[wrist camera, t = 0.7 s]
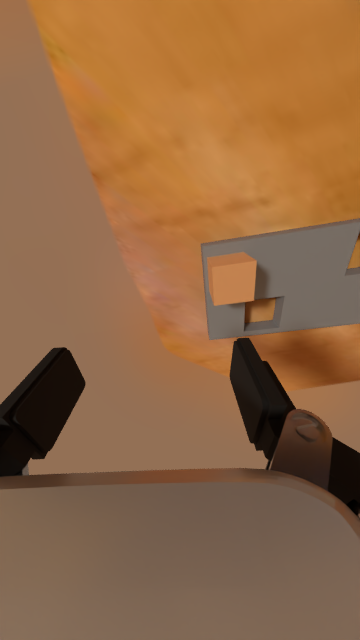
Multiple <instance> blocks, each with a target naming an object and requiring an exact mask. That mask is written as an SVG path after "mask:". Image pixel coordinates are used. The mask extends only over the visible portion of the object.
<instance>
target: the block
mask: <svg viewBox="0 0 360 640" xmlns="http://www.w3.org/2000/svg"><path fill="white" fill-rule="evenodd" d="M256 265H257V261H256V260H255V259H253V258H252V257H250V256H249V255H248V254H246V253H245V252H240V253H234V254H227V255H220V256H214V257H207V266H208V280H209V292H210V295H211V298H212V301H213V304H214V306H217V305H225V304H233V303H240V302H248V301H254V292H255V278H256Z"/></svg>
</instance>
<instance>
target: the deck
mask: <svg viewBox="0 0 360 640" xmlns="http://www.w3.org/2000/svg"><path fill="white" fill-rule="evenodd" d="M359 232H360V218H359V219H353V220H347V221H340V222H334V223H328V224H322V225H315V226H309V227H303V228H297V229H290V230H284V231H278V232H272V233H265V234H259V235H253V236H246V237H240V238H234V239H228V240H221V241H215V242H209V243H203V244H201V252H202V264H203V276H204V288H205V300H206V312H207V324H208V334H209V338H210V340H214V339H223V338H232V337H241V336H250V335H259V334H268V333H277V332H286V331H295V330H305V329H314V328H323V327H332V326H341V325H350V324H359V323H360V267H358V268H350V269H347V267H348V264H349V261H350V258H351V255H352V252H353V249H354V247H355V244H356V241H357V238H358V235H359ZM240 252H245V253H246V254H248V255H249V256H250V257H252V258H253V259H255V260H256V261H257V265H256V278H255V292H254V300H257V299H264V298H272V297H276V303H275V310H274V317H273V320H269V321H261V322H252V323H244V316H245V302H240V303H233V304H225V305H217V306H214V304H213V301H212V298H211V295H210V292H209V280H208V266H207V257H214V256H220V255H227V254H234V253H240Z"/></svg>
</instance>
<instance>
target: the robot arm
mask: <svg viewBox="0 0 360 640" xmlns="http://www.w3.org/2000/svg"><path fill="white" fill-rule="evenodd" d="M230 380H231V384H232V387H233V390H234V393H235V396H236V400H237V403H238V406H239V409H240V412H241V415H242V419H243V422H244V425H245V428H246V431H247V434H248V437H249V441H250V442H251V443H254V445H255V448H256V450H257V451H258V450H263V452H264V455H265V457H266V458H267V459H268V462H267V464H266V467H265V469H247V468H245V469H244V468H228V469H227V468H226V469H181V470H150V471H121V472H97V473H96V472H94V473H71V474H47V475H29V472H28V461H29V460H30V458H32V459H44V458H45V456H46V454H47V452H48V451H50V450H51V449H52V447H53V446H54V444H55V442H56V440H57V438H58V436H59V434H60V433H61V431H62V429H63V427H64V425H65V423H66V421H67V419H68V417H69V416H70V414H71V412H72V410H73V408H74V406H75V404H76V403H77V401H78V399H79V397H80V395H81V393H82V391H83V390H84V387H85V380H84V378H83V376H82V374H81V372H80V370H79V368H78V366H77V364H76V362H75V360H74V358H73V356H72V354H71V352H70V351H69V350H67V348H64V347H63V348H53V349H52V350H51V351H50V352H49V353H48V354H47V355H46V356H45V357H44V358H43V359H42V360H41V362H40V363H39V364H38V365H37V366H36V367H35V368H34V369H33V370H32V371H31V372H30V373H29V374H28V375H27V377H26V378H25V379H24V380H23V381H22V382H21V383H20V384H19V385H18V386H17V387H16V389H15V390H14V391H13V392H12V393H11V394H10V395H9V396H8V397H7V398H6V399H5V400H4V401H3V402H2V404H1V405H0V640H360V453H359V452H357V451H355V450H354V449H352V448H350V447H349V446H347V445H345V444H343V443H342V442H340V441H338V440H336V439H335V438H333V437H332V433H331V431H330V429H329V427H328V426H327V425H326V424H325V422H324V421H323V420H322V419H320V418H319V417H318V416H316V415H314V414H313V413H312V412H309V411H306V410H301V409H296V408H295V406H294V405H293V403H292V401H291V400H290V398H289V396H288V395H287V393H286V391H285V390H284V388H283V386H282V385H281V383H280V381H279V380H278V378H277V377H276V375H275V373H274V372H273V370H272V368H271V367H270V365H269V364H268V362H267V361H262V360H261V358H260V356H259V355H258V353H257V351H256V349H255V348H254V346H253V344H252V342H251V341H250V339H249V338H238V339H237V341H234V345H233V353H232V361H231V369H230Z"/></svg>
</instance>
